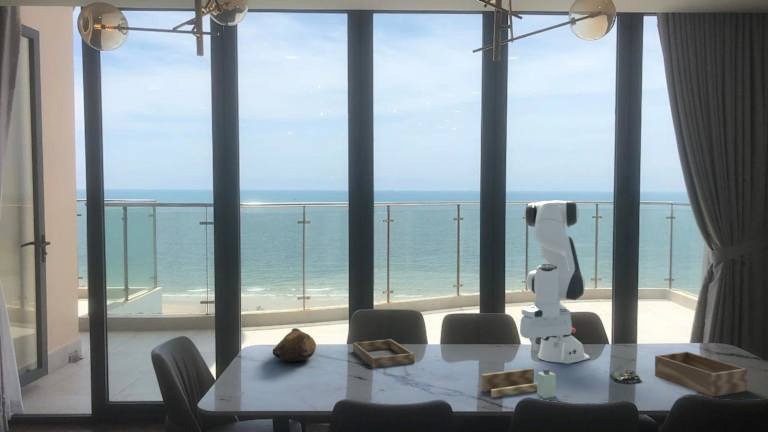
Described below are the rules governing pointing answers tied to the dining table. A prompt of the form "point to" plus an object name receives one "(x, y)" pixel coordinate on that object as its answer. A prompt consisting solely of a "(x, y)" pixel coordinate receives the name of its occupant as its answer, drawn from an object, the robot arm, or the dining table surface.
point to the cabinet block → (546, 384)
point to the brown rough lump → (295, 346)
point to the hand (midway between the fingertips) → (546, 348)
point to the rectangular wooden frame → (402, 358)
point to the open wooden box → (701, 373)
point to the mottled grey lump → (625, 377)
